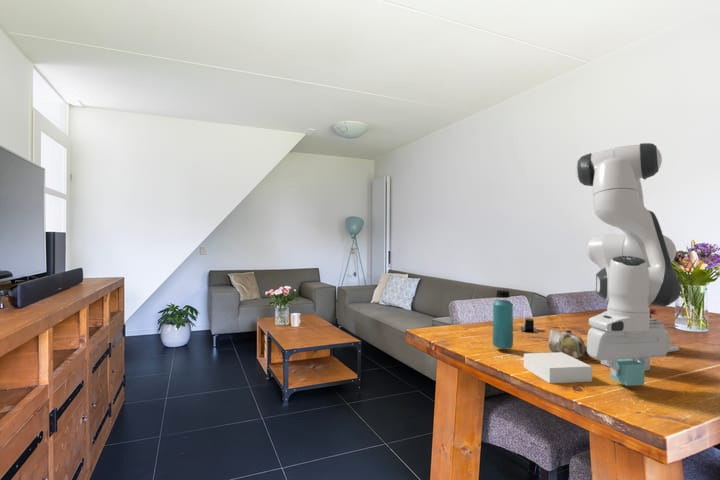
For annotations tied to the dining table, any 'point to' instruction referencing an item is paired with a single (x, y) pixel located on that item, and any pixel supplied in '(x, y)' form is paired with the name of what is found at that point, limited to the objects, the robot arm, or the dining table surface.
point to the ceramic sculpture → (567, 344)
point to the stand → (557, 367)
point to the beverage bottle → (502, 321)
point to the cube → (630, 372)
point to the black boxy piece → (529, 326)
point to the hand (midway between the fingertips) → (626, 374)
